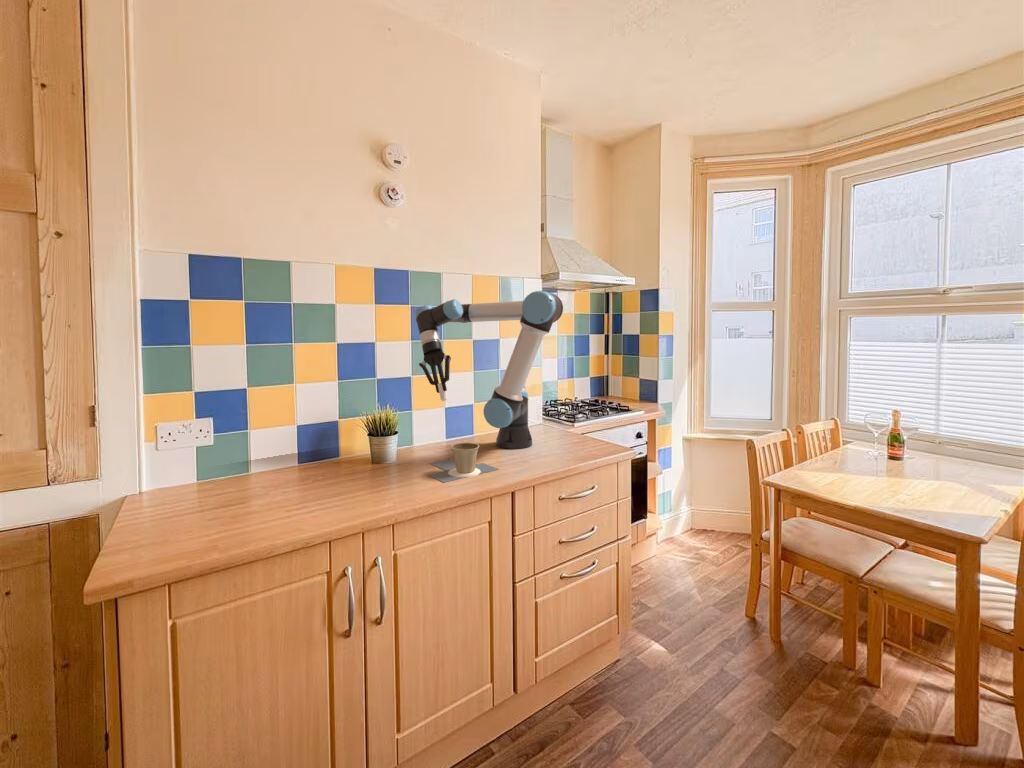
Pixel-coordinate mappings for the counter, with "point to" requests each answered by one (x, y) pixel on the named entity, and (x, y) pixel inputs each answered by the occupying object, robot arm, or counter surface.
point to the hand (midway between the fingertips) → (443, 399)
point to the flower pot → (465, 456)
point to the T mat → (452, 474)
